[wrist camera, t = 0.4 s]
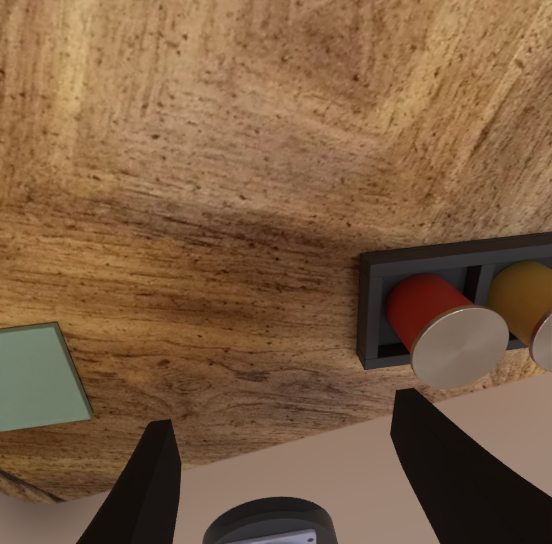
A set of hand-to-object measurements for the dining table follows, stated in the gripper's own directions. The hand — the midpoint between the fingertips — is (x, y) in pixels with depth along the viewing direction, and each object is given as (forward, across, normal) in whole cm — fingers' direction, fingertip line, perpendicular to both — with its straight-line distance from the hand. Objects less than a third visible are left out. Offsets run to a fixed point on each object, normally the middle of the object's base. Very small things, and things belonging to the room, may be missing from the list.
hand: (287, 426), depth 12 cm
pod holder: (+10, -13, +2) cm, 16 cm away
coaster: (+10, +15, +5) cm, 19 cm away
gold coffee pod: (+10, -16, +2) cm, 19 cm away
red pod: (+10, -9, +2) cm, 14 cm away
